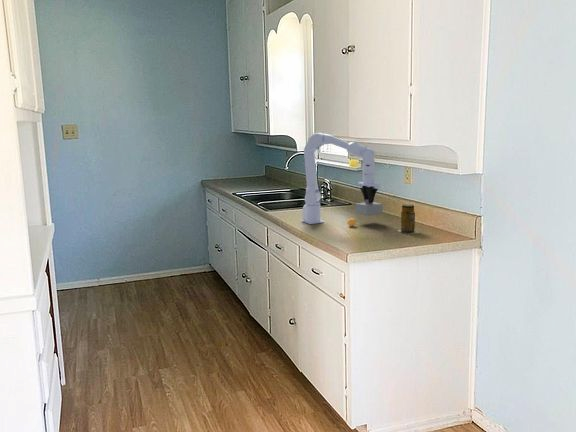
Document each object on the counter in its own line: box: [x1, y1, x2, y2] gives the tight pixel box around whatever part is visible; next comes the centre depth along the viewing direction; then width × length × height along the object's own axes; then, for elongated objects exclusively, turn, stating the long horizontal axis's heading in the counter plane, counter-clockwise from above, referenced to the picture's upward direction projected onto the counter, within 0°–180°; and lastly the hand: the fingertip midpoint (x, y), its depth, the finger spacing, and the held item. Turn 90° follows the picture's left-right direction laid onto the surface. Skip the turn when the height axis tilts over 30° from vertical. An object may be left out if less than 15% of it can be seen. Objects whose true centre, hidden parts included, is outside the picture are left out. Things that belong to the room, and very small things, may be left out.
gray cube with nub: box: [355, 199, 383, 217], centre depth 272 cm, size 9×9×7 cm
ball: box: [347, 217, 357, 228], centre depth 268 cm, size 4×4×4 cm
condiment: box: [397, 203, 421, 235], centre depth 252 cm, size 7×8×12 cm
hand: (369, 202), depth 272 cm, fingers closed on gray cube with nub, 2 cm apart
